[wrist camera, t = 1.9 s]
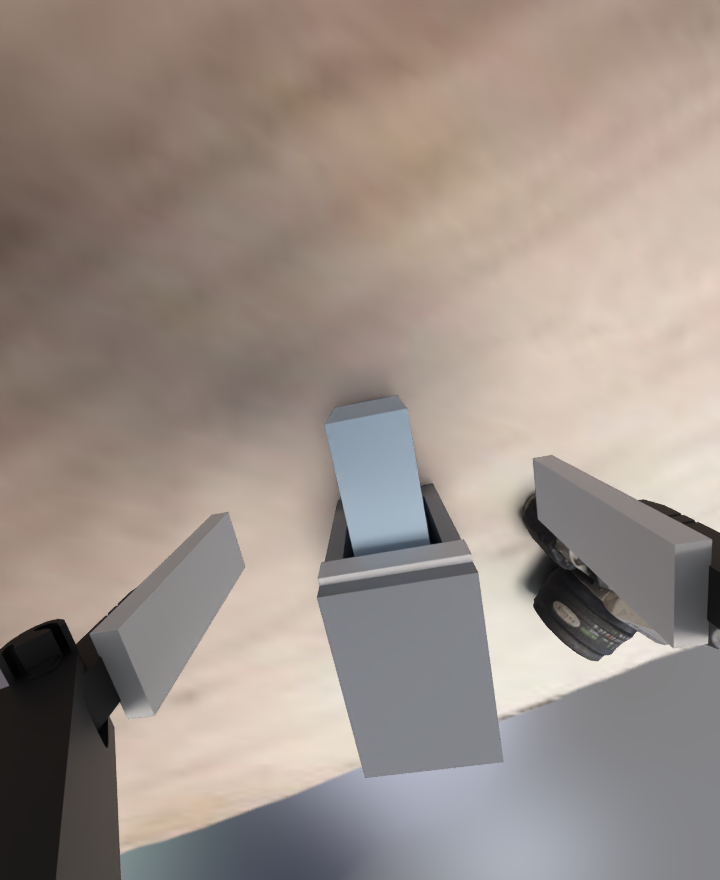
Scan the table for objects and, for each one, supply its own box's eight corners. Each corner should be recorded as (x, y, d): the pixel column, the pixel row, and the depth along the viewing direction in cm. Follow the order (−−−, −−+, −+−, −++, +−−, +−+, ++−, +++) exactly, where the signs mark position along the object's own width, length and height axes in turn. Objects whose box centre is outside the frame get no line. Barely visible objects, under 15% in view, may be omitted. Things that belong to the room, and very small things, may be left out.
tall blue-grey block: (335, 407, 27) (324, 424, 20) (397, 395, 27) (407, 408, 20) (377, 597, 31) (379, 665, 24) (431, 589, 31) (448, 655, 24)
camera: (474, 560, 33) (518, 645, 23) (541, 476, 31) (621, 532, 21) (599, 633, 35) (688, 741, 25) (671, 558, 32) (800, 645, 23)
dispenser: (336, 495, 32) (315, 590, 19) (432, 478, 31) (477, 564, 18) (366, 623, 35) (365, 777, 22) (453, 610, 34) (503, 761, 21)
